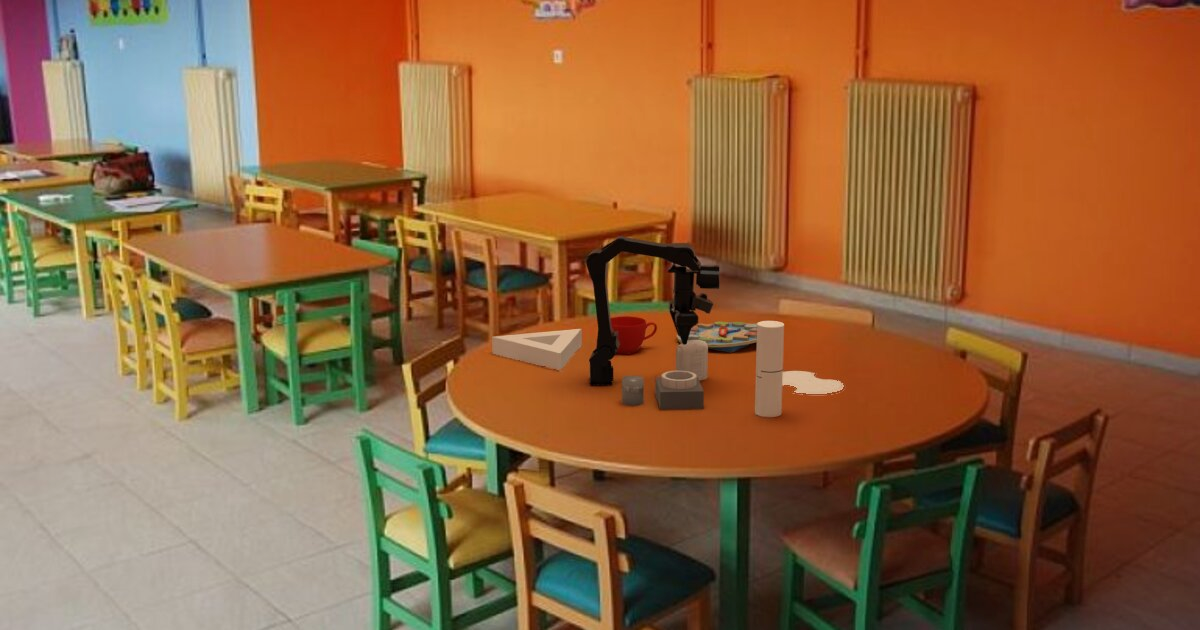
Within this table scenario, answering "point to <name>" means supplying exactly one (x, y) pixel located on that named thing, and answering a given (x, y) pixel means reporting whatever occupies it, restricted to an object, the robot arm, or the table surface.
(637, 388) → the grey rounded block
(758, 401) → the cylindrical container
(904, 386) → the table surface
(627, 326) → the ceramic cup
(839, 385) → the white puddle shape
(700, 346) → the white rounded device
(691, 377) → the gray ring-topped block
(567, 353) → the triangle block
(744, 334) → the shape sorting clock
